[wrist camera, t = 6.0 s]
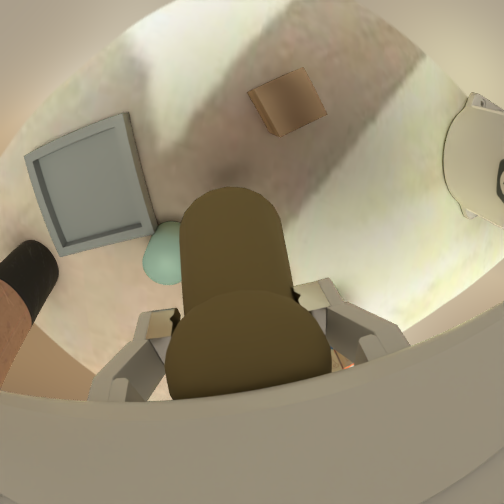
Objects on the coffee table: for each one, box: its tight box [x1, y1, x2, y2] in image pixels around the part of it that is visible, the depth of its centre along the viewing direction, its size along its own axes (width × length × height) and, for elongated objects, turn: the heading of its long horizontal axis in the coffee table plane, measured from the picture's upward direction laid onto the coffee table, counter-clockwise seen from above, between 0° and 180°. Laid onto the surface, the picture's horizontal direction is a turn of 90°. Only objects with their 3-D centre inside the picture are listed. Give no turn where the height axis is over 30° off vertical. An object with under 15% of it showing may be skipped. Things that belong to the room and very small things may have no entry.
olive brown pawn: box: [164, 187, 332, 400], centre depth 12 cm, size 6×6×11 cm
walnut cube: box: [247, 67, 327, 137], centre depth 22 cm, size 4×4×4 cm
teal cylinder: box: [142, 221, 182, 285], centre depth 27 cm, size 4×4×5 cm
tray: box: [24, 113, 158, 257], centre depth 24 cm, size 12×12×2 cm
